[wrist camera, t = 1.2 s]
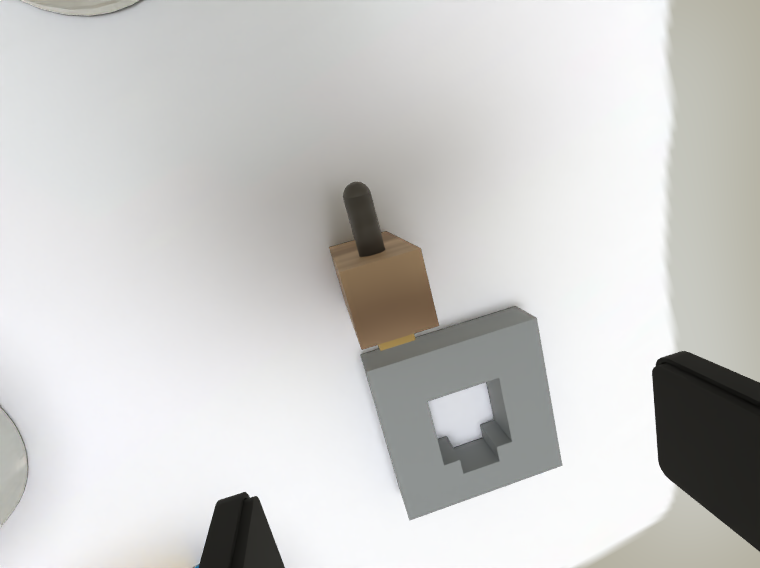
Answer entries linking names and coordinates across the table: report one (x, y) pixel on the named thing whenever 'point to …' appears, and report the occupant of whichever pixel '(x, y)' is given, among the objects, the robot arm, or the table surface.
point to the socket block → (455, 373)
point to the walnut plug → (381, 278)
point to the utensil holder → (11, 467)
